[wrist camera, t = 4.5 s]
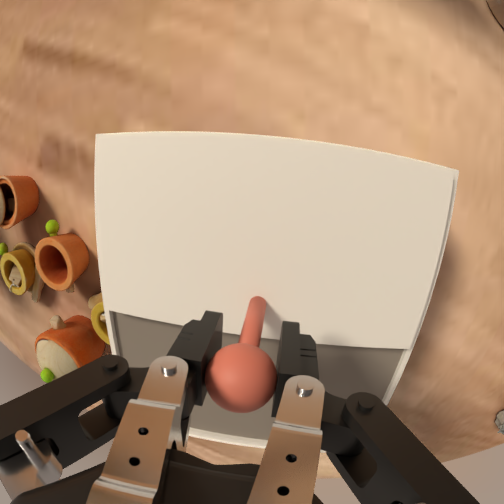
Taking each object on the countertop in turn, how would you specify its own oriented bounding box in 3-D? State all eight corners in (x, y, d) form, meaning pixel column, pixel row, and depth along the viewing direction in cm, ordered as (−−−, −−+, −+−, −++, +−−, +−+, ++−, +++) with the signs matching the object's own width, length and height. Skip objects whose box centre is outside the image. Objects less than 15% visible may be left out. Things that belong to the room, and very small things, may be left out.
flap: (450, 171, 13) (552, 192, 6) (407, 345, 16) (452, 438, 9) (102, 137, 15) (-4, 138, 7) (108, 306, 18) (35, 376, 10)
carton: (398, 162, 22) (459, 170, 13) (329, 427, 32) (334, 493, 23) (162, 137, 24) (95, 134, 15) (170, 405, 34) (143, 465, 24)
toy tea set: (176, 319, 30) (137, 380, 21) (108, 377, 34) (73, 426, 25) (28, 148, 26) (-35, 156, 17) (-9, 236, 31) (-58, 258, 21)
